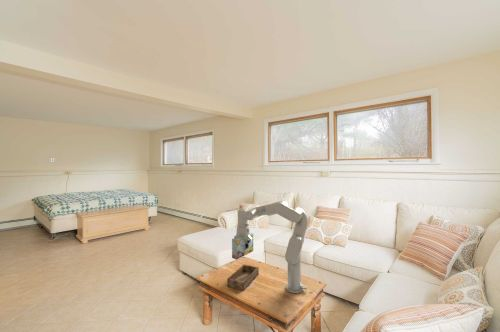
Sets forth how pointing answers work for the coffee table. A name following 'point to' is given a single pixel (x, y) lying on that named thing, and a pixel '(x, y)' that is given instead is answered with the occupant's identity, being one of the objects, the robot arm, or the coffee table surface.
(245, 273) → the walnut crate
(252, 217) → the robot arm
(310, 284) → the coffee table surface
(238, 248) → the snack box
